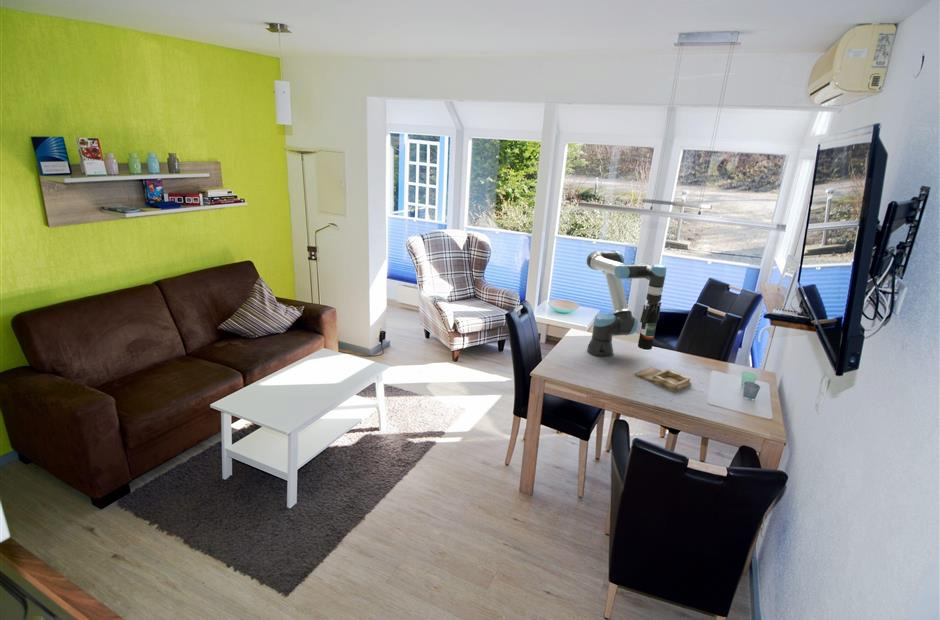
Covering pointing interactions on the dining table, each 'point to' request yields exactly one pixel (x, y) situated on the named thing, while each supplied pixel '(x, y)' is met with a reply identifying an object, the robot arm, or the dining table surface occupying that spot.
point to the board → (664, 378)
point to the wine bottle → (648, 332)
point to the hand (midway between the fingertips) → (647, 332)
